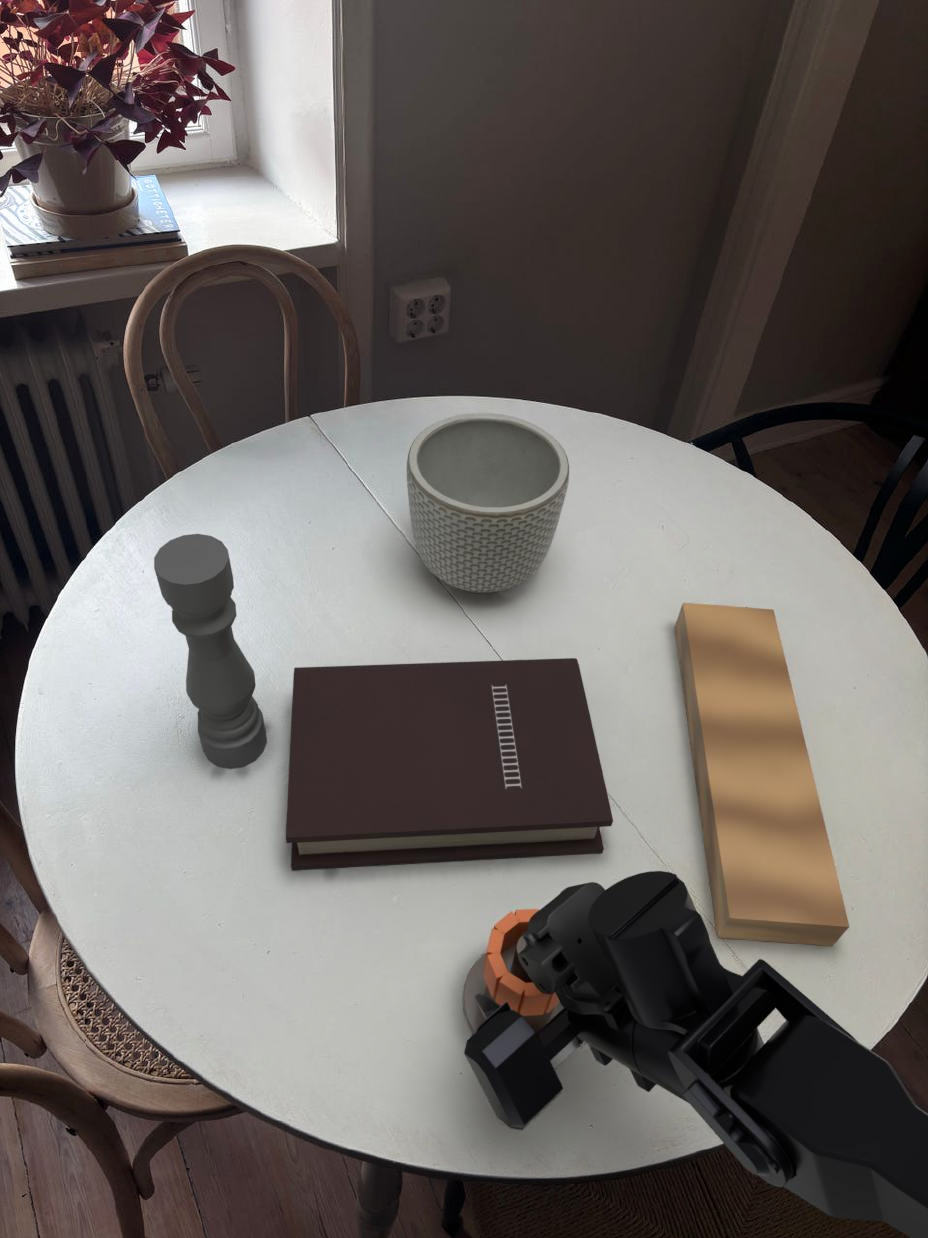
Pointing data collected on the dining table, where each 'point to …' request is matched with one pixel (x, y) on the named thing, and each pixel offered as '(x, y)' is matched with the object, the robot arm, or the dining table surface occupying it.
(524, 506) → the planter
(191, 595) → the candle holder
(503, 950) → the ring
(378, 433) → the dining table surface
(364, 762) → the book
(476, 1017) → the peg stand
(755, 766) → the wooden board
